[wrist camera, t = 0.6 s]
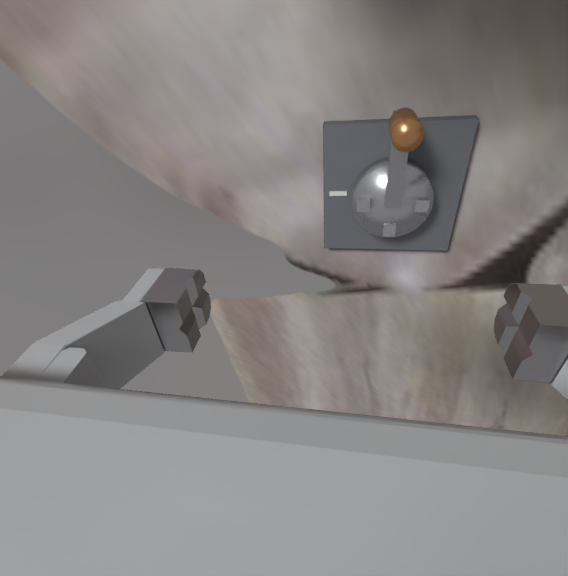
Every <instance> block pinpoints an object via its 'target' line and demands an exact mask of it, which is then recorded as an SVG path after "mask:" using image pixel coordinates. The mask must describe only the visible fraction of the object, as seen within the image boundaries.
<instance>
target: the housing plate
mask: <svg viewBox="0 0 568 576" xmlns="http://www.w3.org/2000/svg"><path fill="white" fill-rule="evenodd" d="M418 119H419V121H420V123H421V125H422V127H423V130H424V137H423V140H422V142H421V144H420V145H419V146H418V147H417V148H416V149H414V150H412V151H410V152H408V159H411V160H413V161H415V162H416V163H418V164H419V165H420V166H421V167H422V168H423V169H424V170H425V172H426V174H427V176H428V178H429V181H430V183H431V186H432V189H433V194H434V200H433V206H432V209H431V211H430V214H429V215H428V217H427V218H426V220H425V221H424V222H423V223H422V224H421V225H420V226H419V227H418V228H416V229H415V230H413V231H412V232H410V233H408V234H405V235H402V236H398V237H380V236H376V235H373V234H371V233H369V232H367V231H366V230H364V229H363V228H362V227H361V226H360V225H359V223H358V222H357V220H356V218H355V216H354V213H353V206H352V201H353V189H354V185H355V182H356V180H357V178H358V177H359V175H360V174H361V172H362V171H363V170H364V169H365V168H366V167H368V166H369V165H370V164H372V163H373V162H375V161H377V160H380V159H383V158H386V157H389V150H390V140H391V135H390V131H389V126H388V125H389V119H378V120H354V121H329V122H324V123H323V171H324V248H344V249H392V250H440V251H447V250H448V245H449V241H450V237H451V233H452V229H453V225H454V221H455V216H456V212H457V208H458V204H459V200H460V196H461V192H462V188H463V183H464V179H465V175H466V171H467V167H468V163H469V159H470V154H471V150H472V146H473V142H474V138H475V134H476V130H477V125H478V121H479V118H478V117H477V116H452V117H427V118H418Z"/></svg>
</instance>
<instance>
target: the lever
mask: <svg viewBox="0 0 568 576" xmlns="http://www.w3.org/2000/svg"><path fill="white" fill-rule="evenodd" d="M388 126H389V131H390V135H391V140H390V150H389V157H386V158H383V159H380V160H377V161H375V162H373V163H372V164H370V165H369V166H368V167H366V168H365V169H364V170H363V171H362V172H361V174H360V175H359V177H358V178H357V180H356V182H355V185H354V189H353V201H352V206H353V213H354V216H355V218H356V220H357V222H358V223H359V225H360V226H361V227H362V228H363V229H364V230H366V231H367V232H369V233H371V234H373V235H376V236H380V237H398V236H402V235H405V234H408V233H410V232H412V231H413V230H415V229H416V228H418V227H419V226H420V225H421V224H422V223H423V222H424V221H425V220H426V218H427V217H428V215H429V214H430V211H431V209H432V206H433V200H434V194H433V189H432V186H431V183H430V181H429V178H428V176H427V174H426V172H425V170H424V169H423V168H422V167H421V166H420V165H419V164H418V163H416V162H415V161H413V160H411V159H408V152H410V151H412V150H414V149H416V148H417V147H418V146H419V145H420V144H421V142H422V140H423V137H424V130H423V127H422V125H421V123H420V121H419V119H418V117H417V115H416V113H415V112H414V111H413V110H412V109H409V108H401V109H399V110H397V111H393V114H392V116H391V117H390V119H389V125H388Z"/></svg>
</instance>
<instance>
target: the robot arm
mask: <svg viewBox="0 0 568 576" xmlns="http://www.w3.org/2000/svg"><path fill="white" fill-rule="evenodd" d="M205 282H206V281H205V278H204V274H203V272H202V271H200V270H194V269H178V268H159V267H152V268H149V269H148V270H147V271H146V272H145V274H144V275H143V276H142V277H141V278H140V280H139V281H138V282H137V283H136V285H135V286H134V287H133V289H132V290H131V291H130V292H129V293H128V294H127V296H126V297H125V298H124V299H123V301H116V302H114V303H112V304H110V305H108V306H106V307H104V308H102V309H100V310H98V311H96V312H94V313H92V314H90V315H88V316H86V317H84V318H82V319H80V320H78V321H76V322H74V323H72V324H70V325H68V326H66V327H64V328H62V329H60V330H58V331H56V332H54V333H52V334H50V335H49V336H46V337H44V338H42V339H40V340H38V341H37V342H34V343H33V344H32V345H31V346H30V348H29V349H28V350H26V351H25V352H24V353H23V355H22V356H21V357H20V358H19V359H18V360H17V361H16V362H15V363H14V364H13V365H12V366H11V367H10V368H9V369H8V370H7V371H6V372H5V373H4V374H3V375H2V376H0V576H568V436H559V435H549V434H540V433H530V432H521V431H511V430H502V429H493V428H483V427H474V426H464V425H455V424H446V423H436V422H427V421H417V420H408V419H399V418H389V417H380V416H370V415H361V414H351V413H342V412H332V411H323V410H313V409H304V408H295V407H285V406H276V405H266V404H257V403H247V402H238V401H228V400H219V399H209V398H199V397H190V396H180V395H171V394H162V393H152V392H142V391H133V390H124V389H120V388H121V387H123V386H124V385H125V384H126V383H127V382H129V381H130V380H131V379H133V378H134V377H135V376H136V375H137V374H139V373H140V372H141V371H142V370H144V369H145V368H146V367H147V366H148V365H150V364H151V363H152V362H153V361H155V360H156V359H157V358H158V357H160V356H161V355H162V354H163V353H164V351H175V352H193V350H194V348H195V346H196V344H197V342H198V340H199V338H200V336H201V335H200V332H199V329H200V328H202V327H203V326H205V325H206V323H207V321H208V319H209V316H210V310H211V302H210V297H209V294H208V293H207V292H206V291H205V290H204V289H203V286H204V284H205ZM504 298H505V300H506V302H507V304H505V305H504V306H502V307H501V308H500V309H498V312H497V315H496V317H495V324H494V332H495V337H496V340H497V342H498V345H499V346H501V347H502V348H503V349H505V350H506V351H507V352H506V354H505V357H504V360H505V362H506V364H507V367H508V369H509V372H510V374H511V376H512V379H515V380H525V381H534V382H543V383H552V384H551V385H552V386H553V387H554V388H555V389H556V390H557V391H558V392H560V393H561V394H562V395H563V396H564V397H565V398H566V399H567V400H568V284H556V285H549V284H520V283H511V284H510V285H509V286H508V287H507V289H506V292H505V294H504Z"/></svg>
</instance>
